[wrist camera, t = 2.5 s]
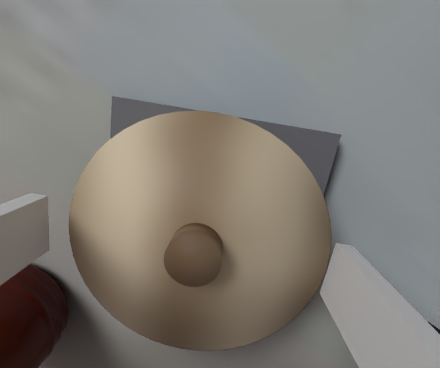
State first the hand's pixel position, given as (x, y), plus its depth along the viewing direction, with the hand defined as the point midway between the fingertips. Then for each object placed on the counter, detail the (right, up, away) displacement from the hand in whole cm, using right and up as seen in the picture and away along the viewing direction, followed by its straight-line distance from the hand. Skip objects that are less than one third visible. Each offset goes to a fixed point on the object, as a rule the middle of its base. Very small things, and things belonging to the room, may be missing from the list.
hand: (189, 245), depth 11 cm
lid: (0, +1, +3) cm, 3 cm away
